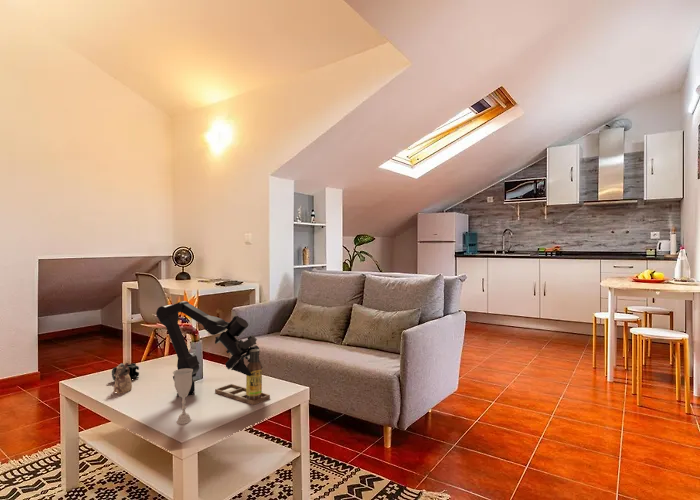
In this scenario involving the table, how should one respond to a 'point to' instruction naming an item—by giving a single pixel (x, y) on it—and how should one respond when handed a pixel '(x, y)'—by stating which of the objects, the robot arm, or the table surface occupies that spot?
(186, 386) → the chalice
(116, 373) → the figurine
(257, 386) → the sauce bottle
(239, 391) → the brown compartment tray
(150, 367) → the table surface
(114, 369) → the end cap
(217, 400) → the table surface
